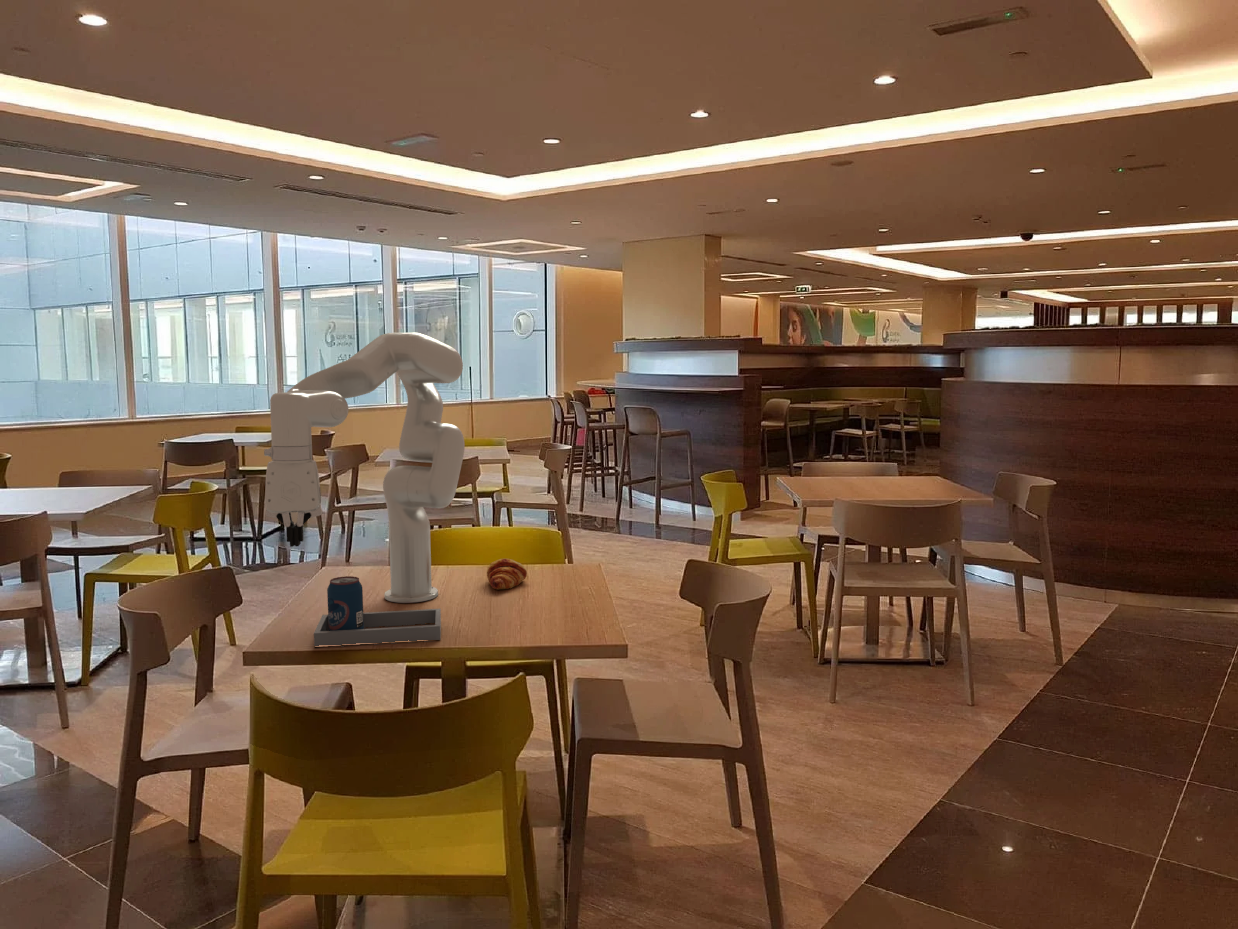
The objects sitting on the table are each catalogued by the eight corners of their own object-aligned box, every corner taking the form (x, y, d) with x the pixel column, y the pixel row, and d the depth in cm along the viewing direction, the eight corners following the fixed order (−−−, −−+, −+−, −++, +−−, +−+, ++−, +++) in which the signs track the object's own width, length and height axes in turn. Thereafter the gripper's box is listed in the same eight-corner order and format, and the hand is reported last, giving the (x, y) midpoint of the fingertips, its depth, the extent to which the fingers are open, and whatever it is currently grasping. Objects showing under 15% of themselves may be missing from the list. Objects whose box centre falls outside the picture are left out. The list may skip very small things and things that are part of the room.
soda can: (321, 639, 182) (319, 582, 180) (343, 630, 188) (341, 574, 187) (350, 643, 179) (347, 585, 178) (371, 633, 186) (369, 577, 184)
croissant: (504, 585, 239) (490, 559, 238) (537, 568, 238) (523, 542, 237) (487, 605, 218) (471, 577, 217) (522, 587, 216) (507, 558, 216)
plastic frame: (323, 628, 189) (322, 614, 189) (440, 622, 194) (440, 608, 193) (314, 648, 176) (313, 633, 176) (440, 640, 181) (440, 626, 181)
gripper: (248, 456, 172) (252, 550, 174) (329, 455, 175) (331, 547, 177) (256, 453, 180) (259, 543, 182) (333, 452, 183) (336, 540, 185)
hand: (295, 545), depth 179 cm, fingers closed
